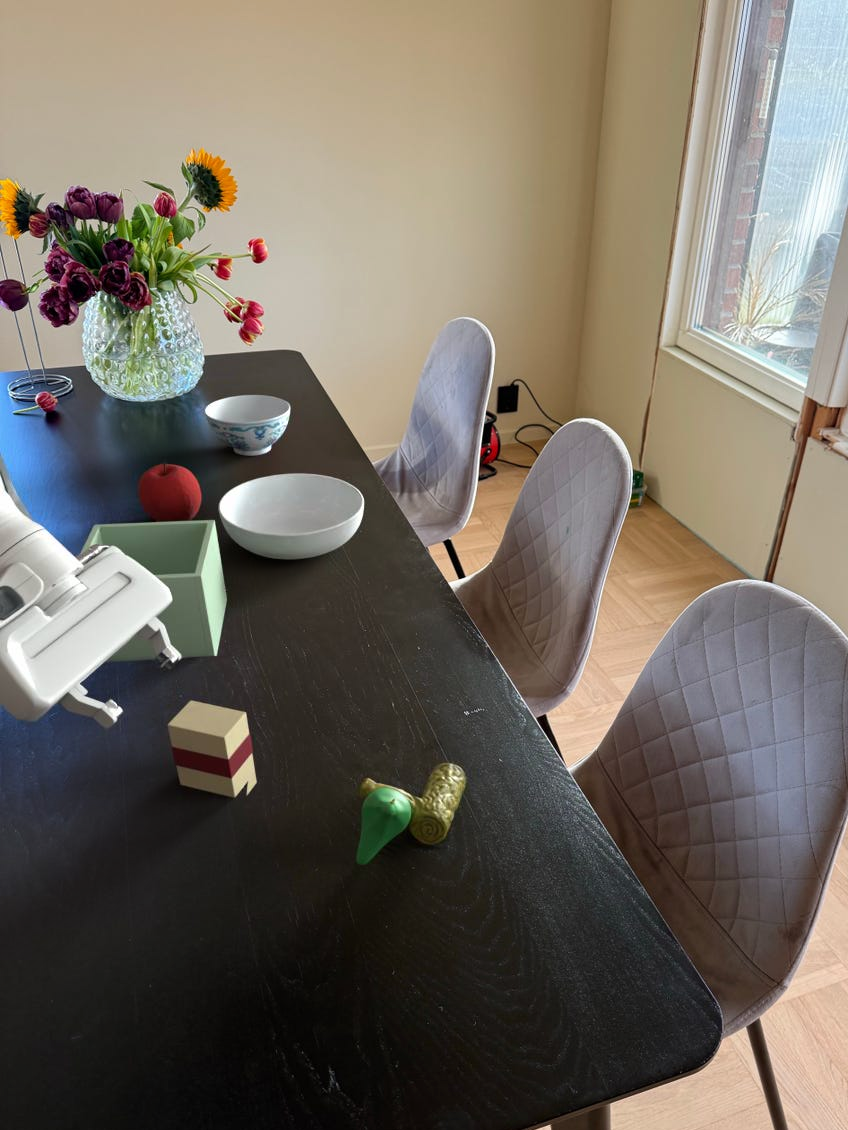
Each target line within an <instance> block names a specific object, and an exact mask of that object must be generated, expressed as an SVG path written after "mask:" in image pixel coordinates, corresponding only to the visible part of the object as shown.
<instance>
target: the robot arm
mask: <svg viewBox="0 0 848 1130" xmlns="http://www.w3.org/2000/svg"><path fill="white" fill-rule="evenodd" d="M103 549H106V550H105V551H103ZM102 551H103V552H102ZM91 559H92V560H91ZM171 602H172V596H171V592H170V590H169V588H168V587H167V586H166V585H165V584H164V583H162V582H161V581H160V580H159V579H158V578H157V577H156V576H154V575H153V574H152V573H151V572H149V571H148V570H147V569H145V568H144V567H143V566H142V565H140V564H139V563H138V562H136V561H135V560H133V559H132V558H130V557H128V556H127V555H125V554H124V553H123V552H122V551H121V550H120V549H118V548H117V547H115V546H110V545H100V544H94V545H92V546H90V547H89V548H88V549H87V550H86V551H85V552H83V553H82V554H80V553H79V554H78V555H76V556H74V555H73V554H72V553H71V552H70V551H69V550H68V549H67V548H66V547H65V546H64V545H63V544H62V543H61V542H60V541H59V540H57V538H55V536H53V534H51V533H50V532H49V531H48V530H47V529H46V528H45V527H44V526H42V525H41V524H40V523H38V522H36V521H34V520H33V518H32V516H31V515H30V513H29V511H28V509H27V508H26V507H25V505H24V503H23V502H22V500H21V499H20V497H19V495H18V493H17V491H16V489H15V486H14V484H13V483H12V479H11V477H10V474H9V472H8V469H7V467H6V464H5V461H4V459H3V456H2V453H1V452H0V706H1V707H2V708H3V709H4V710H5V711H6V712H8V713H9V714H10V715H11V716H12V717H14V718H15V719H17V720H19V721H23V722H28V723H36V722H37V721H38V720H40V719H41V718H42V717H43V716H44V715H45V714H47V712H49V711H50V710H51V709H52V708H54V706H56V705H57V704H59V705H61V706H62V707H63V708H64V709H65V710H66V711H67V712H70V713H74V714H78V715H81V716H85V717H88V718H93V719H94V721H96V722H97V723H98V724H99V725H100V726H101V727H103V728H104V729H110V728H111V727H112V726H113V725H114V724H115V723H116V722H118V720H119V719H120V718H122V716H123V715H124V713H125V712H124V710H123V709H122V708H121V707H120V706H118V705H117V703H116V702H115V701H114V700H113V699H111V698H110V699H108V701H106V702H105V703H104V702H102V701H99V700H96V699H94V698H91V697H88V696H86V695H87V694H88V690H87V689H86V688H85V687H84V686H83V685H82V684H81V683H82V682H83V681H85V680H86V679H87V678H88V677H89V676H90V675H92V673H94V672H95V671H96V670H97V669H98V668H99V667H101V666H102V665H103V664H104V663H106V662H105V661H106V660H107V659H109V658H110V657H111V656H112V655H113V654H114V653H115V652H117V651H118V650H119V649H120V648H121V647H122V646H124V645H125V644H126V643H127V642H128V641H129V640H131V639H132V638H133V637H134V636H135V635H136V634H138V635H139V636H140V637H141V638H142V639H143V640H144V641H147V640H149V639H150V641H151V643H152V645H153V647H154V650H155V652H156V654H157V656H156V657H155V658H154V659H153V660H152V661H153V662H154V663H155V664H157V665H158V666H160V668H161V669H162V671H165V672H167V671H170V669H171V668H173V667H174V666H175V665H176V664H177V663H178V662H179V661H180V660H181V659H182V658H181V657H182V656H181V654H180V653H179V652H178V651H177V650H176V649H175V648H174V647H173V646H172V645H171V644H170V640H169V637H168V634H167V631H166V629H165V626H164V624H163V623H162V622H161V621H159V620H158V619H157V618H156V617H157V616H158V615H159V614H160V613H161V612H163V611H164V610H165V609H166V608H167V607H168V606H169V605H170V603H171Z"/></svg>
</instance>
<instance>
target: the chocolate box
mask: <svg viewBox="0 0 848 1130" xmlns="http://www.w3.org/2000/svg"><path fill="white" fill-rule="evenodd" d="M167 730H168V734H169V739H170V742H171V743H170V744H171V751H172V755H173V756H172V757H173V761H174V765H175V766H176V771H177V775H178V780H179V784H180V785H181V786H185V787H188V788H193V789H197V790H201V791H205V792H210V793H213V794H218V795H222V796H226V797H231V798H234V799H235V798H236V797H237V796H238V794H239V793H240V792H241V790H242V789H243V788H244V787H245V785H246V784H247V786H246V796H248V795H249V794H250V792H251V791H252V789H253V788H254V787H255V785H256V784H257V782H258V781H257V777H256V776H257V775H256V769H255V762H254V755H253V752H254V751H253V743H252V737H251V733H250V730H249V724H248V717H247V712H245V711H241V710H238V709H237V710H236V709H232V708H228V707H223V706H219V705H213V704H210V703H204V702H200V701H195V700H190V701H188V702H187V704H185V706H184V707H182V708H181V710H180V711H179V712H178V713H177V714H176V715H175V716H174V717H173V718H172V719H171V720H170V721H169V723H168V724H167Z"/></svg>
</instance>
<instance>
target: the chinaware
mask: <svg viewBox="0 0 848 1130" xmlns="http://www.w3.org/2000/svg"><path fill="white" fill-rule="evenodd" d="M204 414H205V418H206V421H207V422H208V424H209V426H210V429H211V430H212V432H213V433H214V434H215V435H216V437H217V438H219V440H220V441H222V442H223V443H224V444H225V445H228V446H229V447H231V448H233V451H234V452H235V454H238V455H241V456H246V457H247V456H249V457H250V456H251V457H253V456H261V455H263V454H267V453H268V452H270V451H271V449H272V445H273V444H275V443H276V442H277V441H278V440H279V439H280V438H281V437H282V436H283V434H284V432H285V430H286V428H287V426H288V424H289V420H290V414H291V405H290V403H289V402H288V401H286V400H284V399H282V398H280V397H276V396H271V395H261V394H244V395H236V396H235V395H234V396H228V397H224V398H222V399H218V400H215V401H213V402H211V403H209V404H208V405H207V406H206V407H205V408H204Z"/></svg>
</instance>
